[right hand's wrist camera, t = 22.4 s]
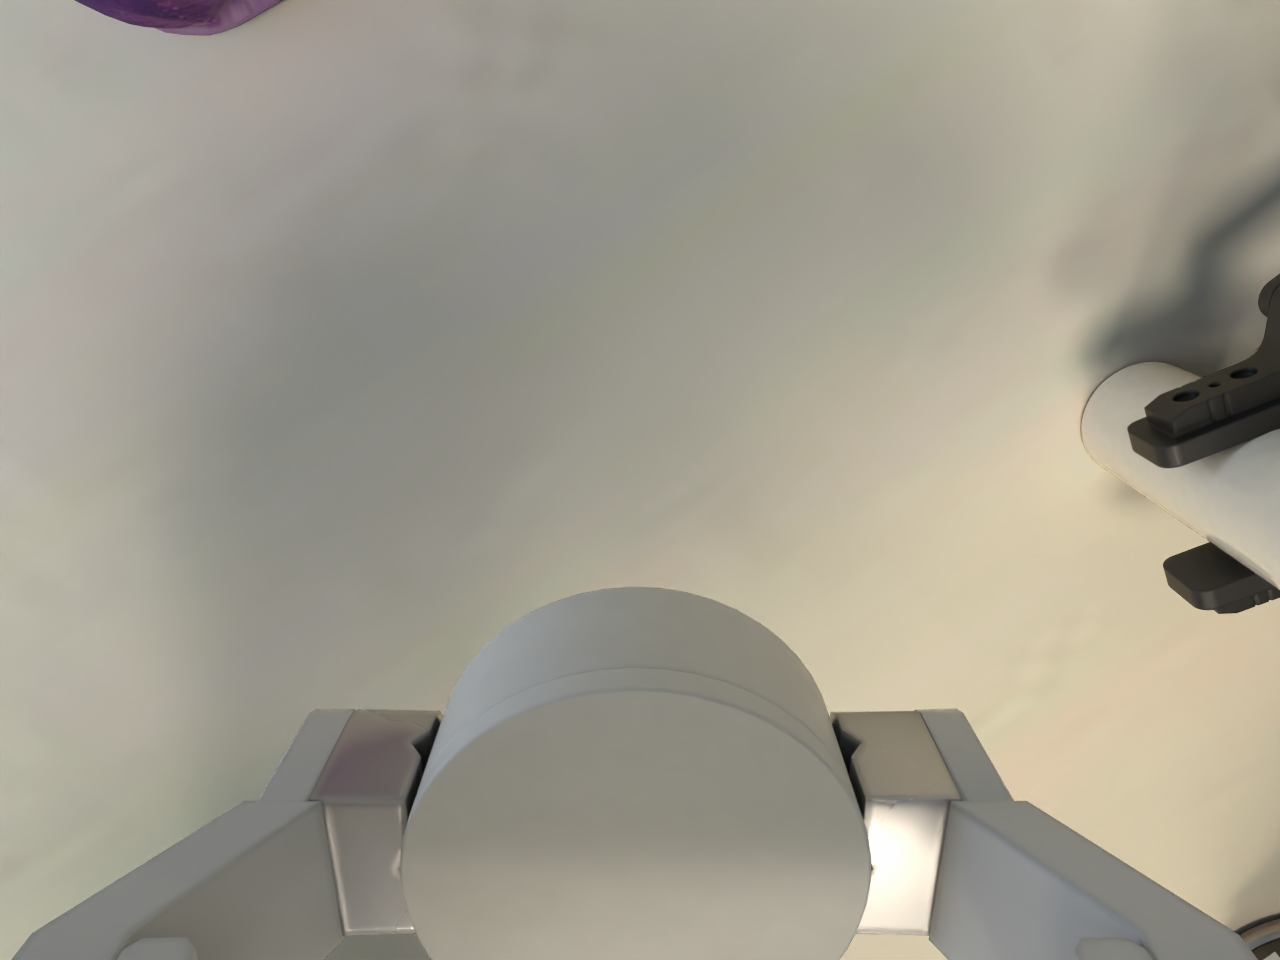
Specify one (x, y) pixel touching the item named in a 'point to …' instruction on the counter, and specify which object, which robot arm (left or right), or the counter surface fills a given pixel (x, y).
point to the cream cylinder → (1192, 471)
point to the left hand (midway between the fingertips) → (1164, 519)
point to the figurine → (182, 13)
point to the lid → (635, 794)
